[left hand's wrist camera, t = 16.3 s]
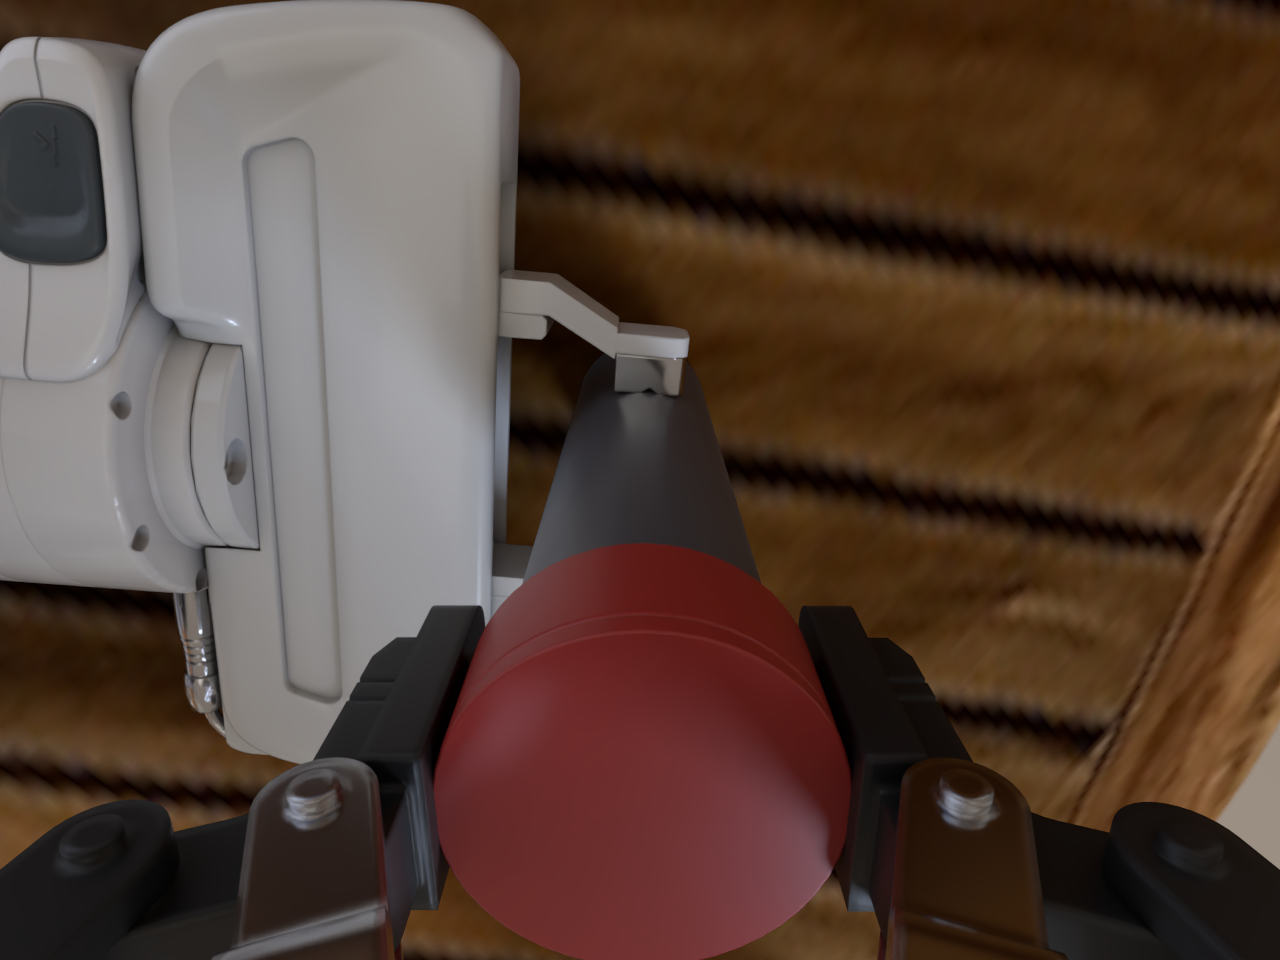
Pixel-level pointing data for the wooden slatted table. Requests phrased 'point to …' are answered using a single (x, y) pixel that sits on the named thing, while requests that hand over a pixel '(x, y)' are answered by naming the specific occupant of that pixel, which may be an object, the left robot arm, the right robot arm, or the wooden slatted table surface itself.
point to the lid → (642, 760)
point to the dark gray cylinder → (640, 477)
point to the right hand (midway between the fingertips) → (675, 462)
